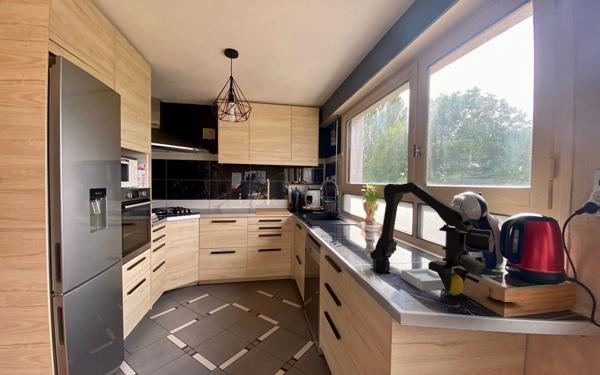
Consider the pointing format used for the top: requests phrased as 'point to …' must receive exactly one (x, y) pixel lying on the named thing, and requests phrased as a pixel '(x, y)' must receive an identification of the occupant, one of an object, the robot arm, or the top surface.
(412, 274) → the white square tray
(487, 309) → the top surface
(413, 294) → the top surface
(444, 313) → the top surface
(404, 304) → the top surface
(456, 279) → the lemon
